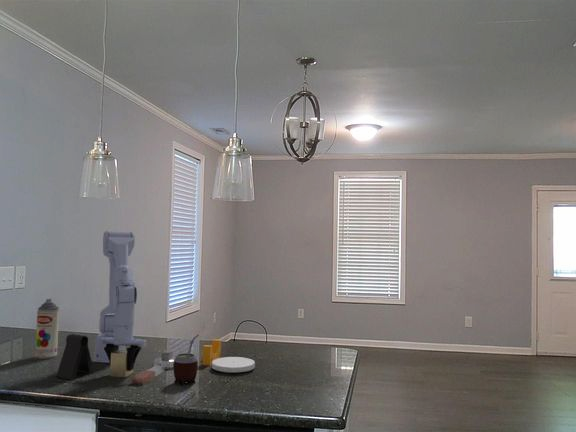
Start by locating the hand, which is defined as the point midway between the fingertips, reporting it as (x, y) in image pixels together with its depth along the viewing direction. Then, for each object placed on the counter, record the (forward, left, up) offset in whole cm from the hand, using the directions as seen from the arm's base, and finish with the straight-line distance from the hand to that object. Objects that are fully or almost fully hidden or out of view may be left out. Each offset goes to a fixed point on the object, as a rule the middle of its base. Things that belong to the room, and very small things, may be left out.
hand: (121, 369), depth 152 cm
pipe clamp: (+20, +24, -2) cm, 31 cm away
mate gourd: (+22, -3, -2) cm, 22 cm away
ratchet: (+9, +5, -2) cm, 10 cm away
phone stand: (-13, -4, -2) cm, 14 cm away
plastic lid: (+31, +16, -2) cm, 35 cm away
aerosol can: (-35, +13, -2) cm, 37 cm away
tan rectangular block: (0, 0, -2) cm, 2 cm away
